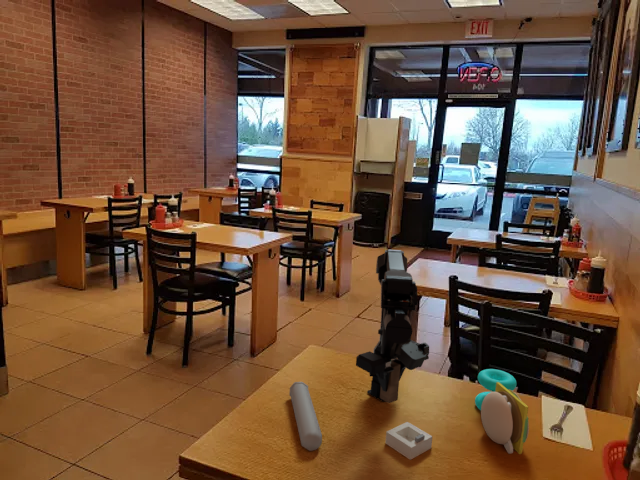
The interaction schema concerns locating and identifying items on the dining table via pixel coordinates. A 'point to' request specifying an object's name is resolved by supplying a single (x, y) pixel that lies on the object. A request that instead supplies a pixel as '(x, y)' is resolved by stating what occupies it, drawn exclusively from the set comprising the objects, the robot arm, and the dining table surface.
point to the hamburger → (505, 418)
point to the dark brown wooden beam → (392, 385)
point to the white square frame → (408, 440)
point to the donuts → (493, 382)
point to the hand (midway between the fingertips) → (389, 389)
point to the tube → (305, 416)
